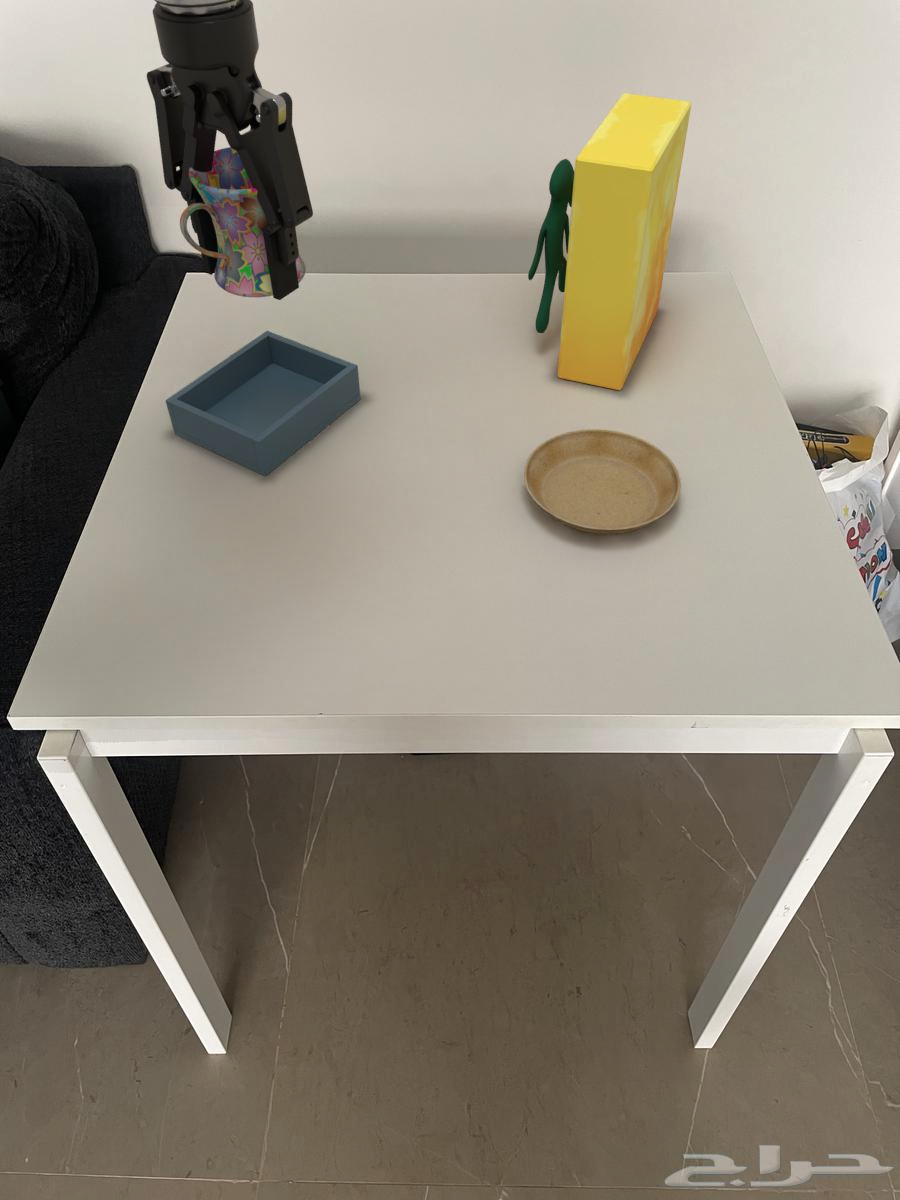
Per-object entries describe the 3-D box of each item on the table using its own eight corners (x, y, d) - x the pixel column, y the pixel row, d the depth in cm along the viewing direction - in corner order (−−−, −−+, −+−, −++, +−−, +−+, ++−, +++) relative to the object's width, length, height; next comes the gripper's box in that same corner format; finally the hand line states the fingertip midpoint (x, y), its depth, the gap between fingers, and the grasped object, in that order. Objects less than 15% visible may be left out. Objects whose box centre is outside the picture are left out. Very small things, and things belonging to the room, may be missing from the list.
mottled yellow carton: (558, 294, 117) (575, 86, 100) (657, 312, 114) (692, 100, 97) (513, 369, 106) (522, 150, 89) (620, 391, 103) (652, 168, 86)
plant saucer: (634, 437, 98) (638, 416, 96) (704, 528, 88) (709, 507, 86) (500, 467, 95) (501, 446, 93) (558, 565, 85) (560, 544, 83)
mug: (265, 247, 94) (248, 136, 86) (331, 278, 89) (319, 164, 82) (168, 295, 87) (140, 180, 80) (234, 330, 83) (211, 212, 76)
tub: (174, 434, 99) (165, 400, 96) (272, 363, 108) (267, 330, 104) (265, 476, 94) (258, 442, 91) (360, 399, 103) (357, 365, 100)
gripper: (340, 7, 69) (364, 293, 86) (141, -33, 77) (199, 235, 94) (272, 36, 65) (311, 330, 82) (70, -10, 73) (143, 267, 90)
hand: (251, 279), depth 88 cm, fingers closed on mug, 8 cm apart
